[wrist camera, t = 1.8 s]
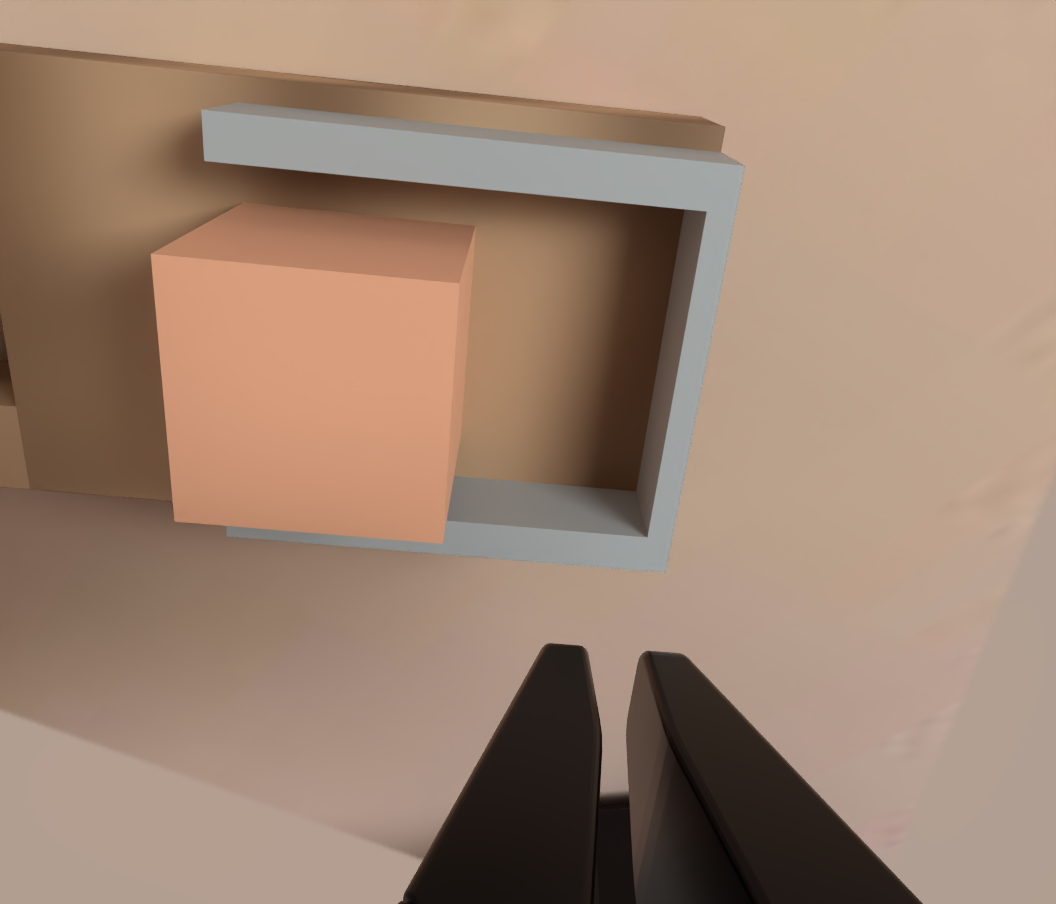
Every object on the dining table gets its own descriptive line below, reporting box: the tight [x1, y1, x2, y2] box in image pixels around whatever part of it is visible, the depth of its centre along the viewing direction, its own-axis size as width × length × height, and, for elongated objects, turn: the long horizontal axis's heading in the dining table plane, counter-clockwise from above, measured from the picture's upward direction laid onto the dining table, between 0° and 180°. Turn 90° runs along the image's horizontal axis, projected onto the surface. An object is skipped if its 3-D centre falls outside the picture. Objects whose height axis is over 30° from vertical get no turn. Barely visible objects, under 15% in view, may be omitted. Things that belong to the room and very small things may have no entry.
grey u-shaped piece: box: [201, 102, 745, 573], centre depth 17 cm, size 9×8×2 cm
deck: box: [0, 43, 725, 501], centre depth 19 cm, size 20×9×2 cm, turn 84°
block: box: [151, 203, 476, 544], centre depth 16 cm, size 4×4×4 cm
